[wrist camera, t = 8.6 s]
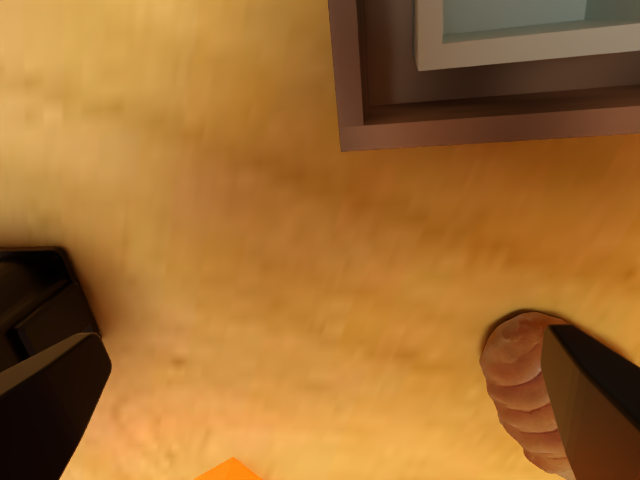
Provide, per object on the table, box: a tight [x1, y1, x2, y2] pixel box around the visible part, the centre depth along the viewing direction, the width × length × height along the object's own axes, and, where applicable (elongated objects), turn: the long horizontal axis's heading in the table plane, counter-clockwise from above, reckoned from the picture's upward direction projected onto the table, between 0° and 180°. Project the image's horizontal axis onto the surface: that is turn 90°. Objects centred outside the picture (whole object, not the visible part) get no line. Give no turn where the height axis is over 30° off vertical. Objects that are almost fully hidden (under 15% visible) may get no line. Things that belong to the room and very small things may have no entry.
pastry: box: [479, 312, 576, 480], centre depth 21 cm, size 9×7×4 cm
